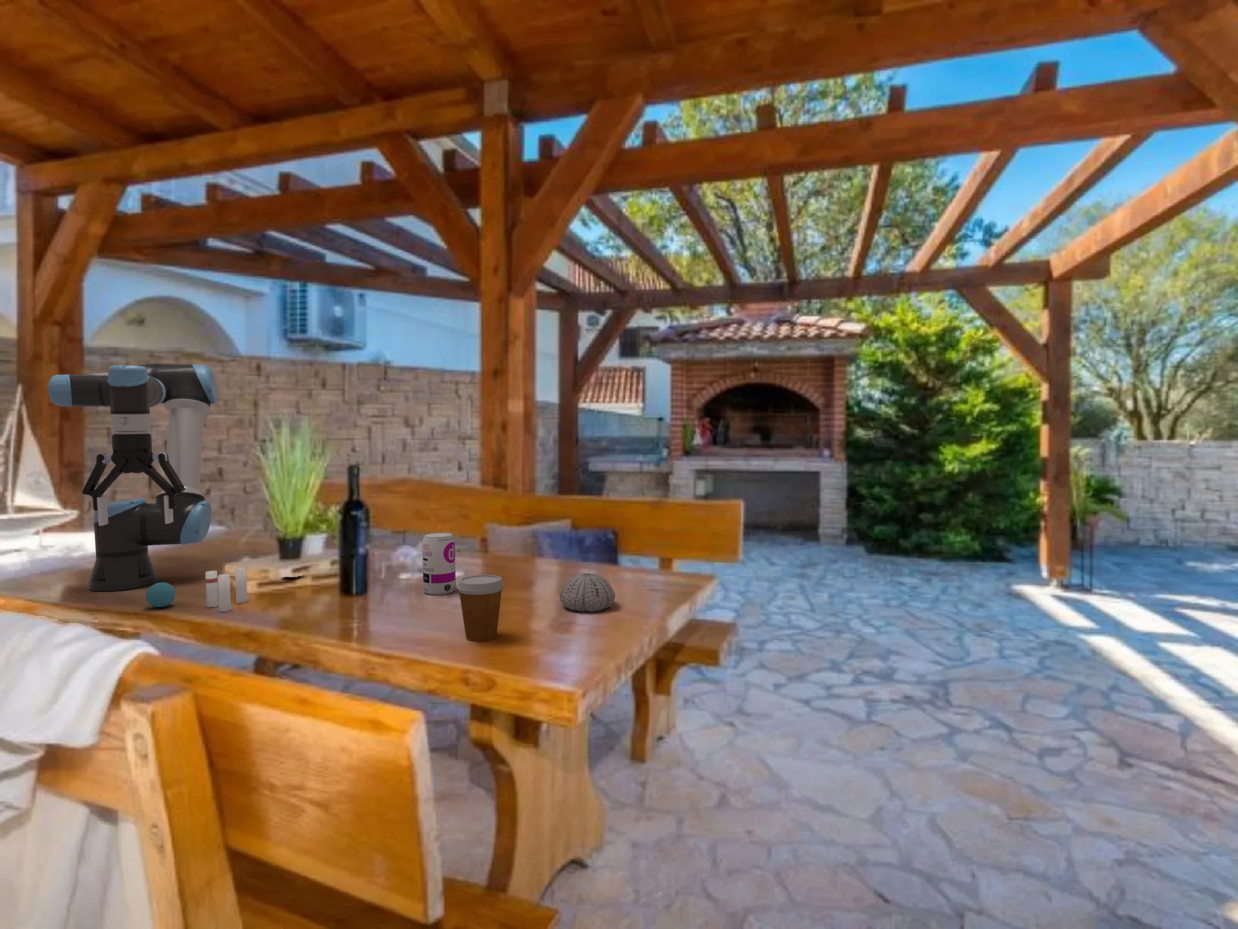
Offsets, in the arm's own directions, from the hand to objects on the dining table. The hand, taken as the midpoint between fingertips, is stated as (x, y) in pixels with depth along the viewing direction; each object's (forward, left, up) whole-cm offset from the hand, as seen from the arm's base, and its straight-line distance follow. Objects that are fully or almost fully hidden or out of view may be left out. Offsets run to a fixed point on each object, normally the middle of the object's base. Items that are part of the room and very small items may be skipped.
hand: (136, 523), depth 162 cm
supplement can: (+20, +65, -21) cm, 71 cm away
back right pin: (+10, +17, -21) cm, 29 cm away
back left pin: (+3, +21, -21) cm, 30 cm away
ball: (-2, +4, -18) cm, 18 cm away
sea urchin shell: (+54, +90, -21) cm, 107 cm away
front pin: (+4, +14, -21) cm, 26 cm away
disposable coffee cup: (+62, +60, -21) cm, 89 cm away
